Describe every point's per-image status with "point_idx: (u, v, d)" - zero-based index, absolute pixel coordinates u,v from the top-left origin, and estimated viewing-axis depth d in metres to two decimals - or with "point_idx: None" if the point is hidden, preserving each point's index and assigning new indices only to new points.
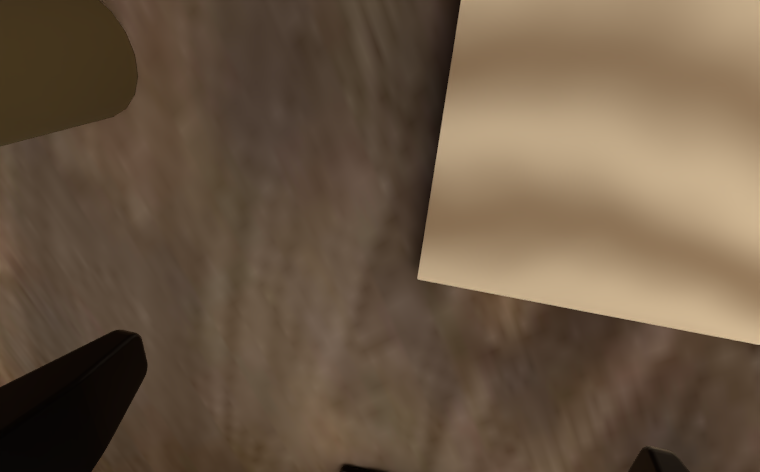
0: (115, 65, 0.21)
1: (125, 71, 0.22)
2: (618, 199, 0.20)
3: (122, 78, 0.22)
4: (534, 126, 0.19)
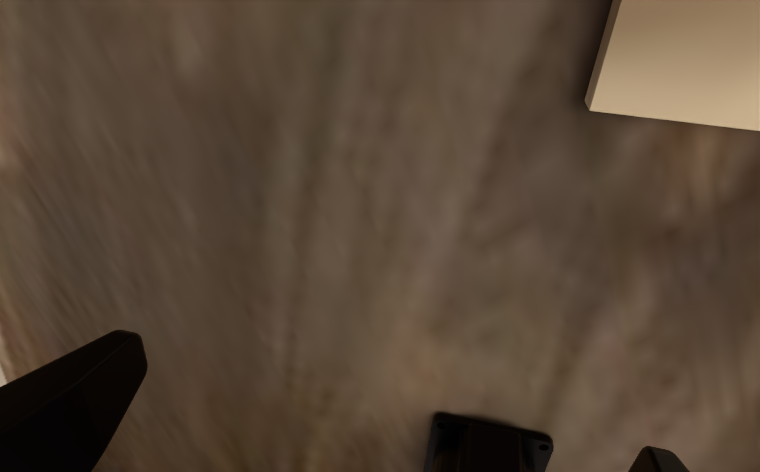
0: None
1: None
2: None
3: None
4: None
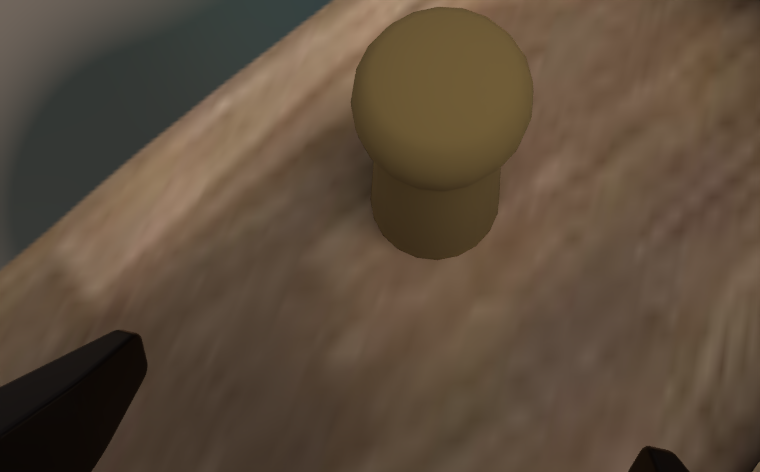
0: (486, 226, 0.22)
1: (481, 235, 0.22)
2: None
3: (476, 238, 0.22)
4: None
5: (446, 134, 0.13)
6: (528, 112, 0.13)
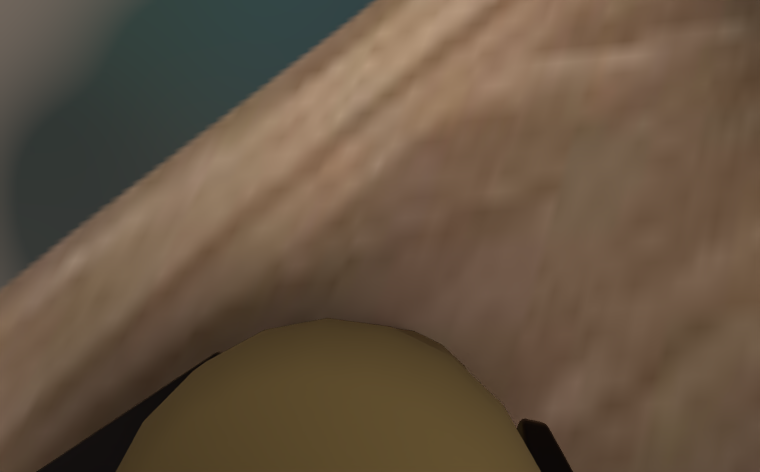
0: None
1: None
2: None
3: None
4: None
5: None
6: None
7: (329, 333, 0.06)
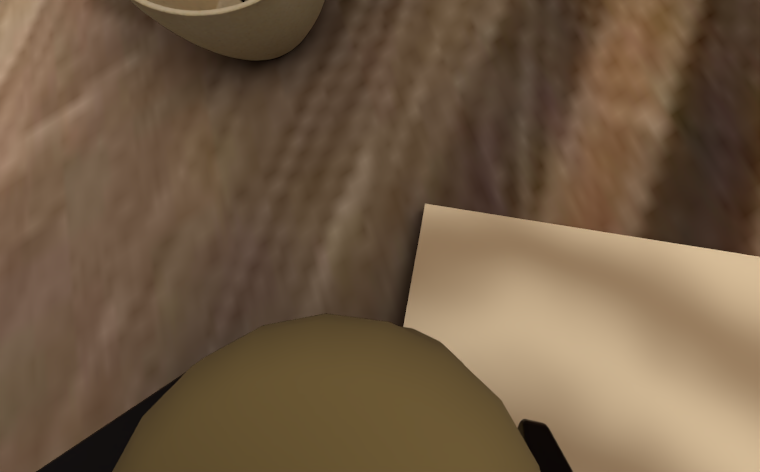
0: None
1: None
2: None
3: None
4: None
5: None
6: None
7: (327, 328, 0.06)
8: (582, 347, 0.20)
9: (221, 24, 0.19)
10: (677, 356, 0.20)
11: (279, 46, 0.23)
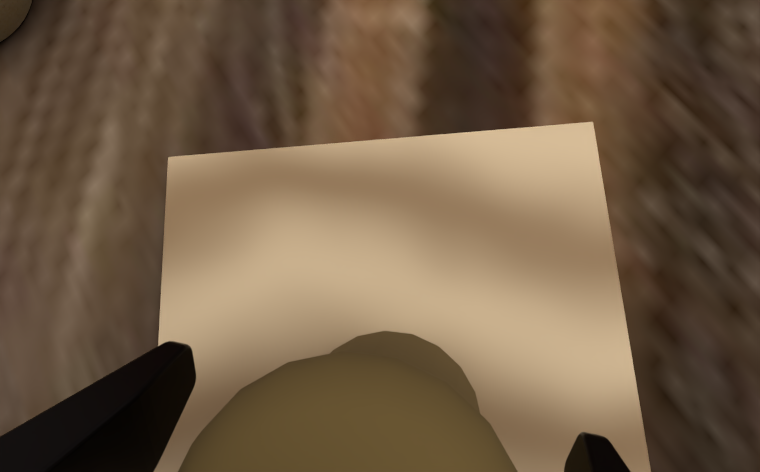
0: None
1: None
2: None
3: None
4: None
5: None
6: None
7: (344, 369, 0.07)
8: (360, 270, 0.18)
9: None
10: (462, 254, 0.17)
11: None
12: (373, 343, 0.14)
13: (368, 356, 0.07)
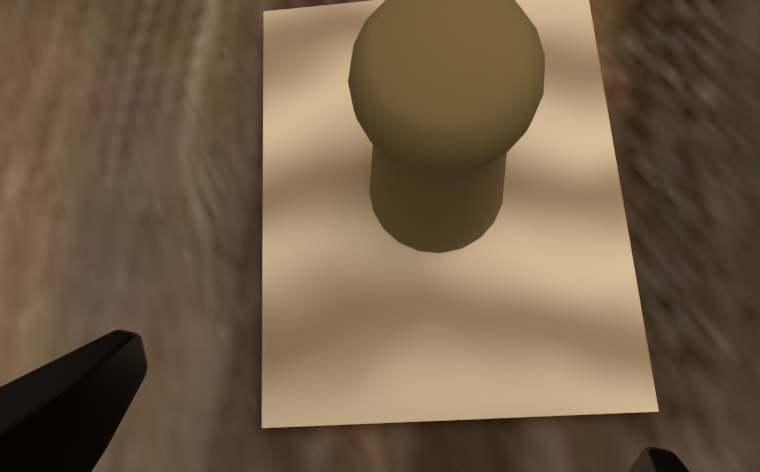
0: (491, 217, 0.21)
1: (485, 227, 0.21)
2: (429, 279, 0.22)
3: (481, 229, 0.21)
4: (339, 231, 0.22)
5: (453, 112, 0.12)
6: (540, 87, 0.12)
7: None
8: None
9: None
10: None
11: None
12: None
13: None
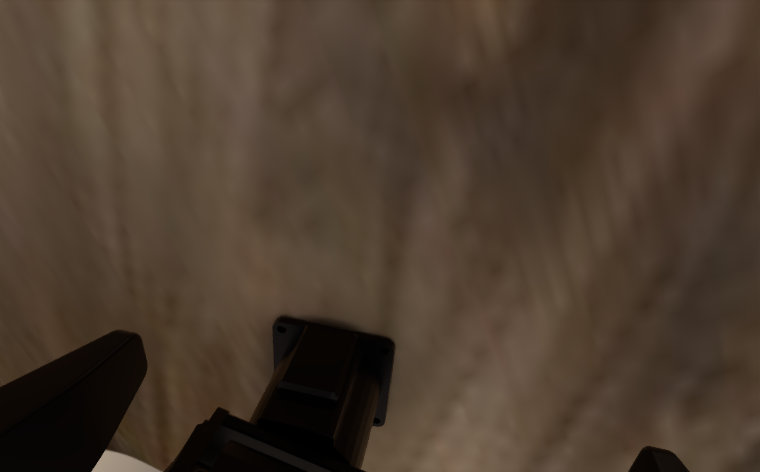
0: None
1: None
2: None
3: None
4: None
5: None
6: None
7: None
8: None
9: None
10: None
11: None
12: None
13: None
